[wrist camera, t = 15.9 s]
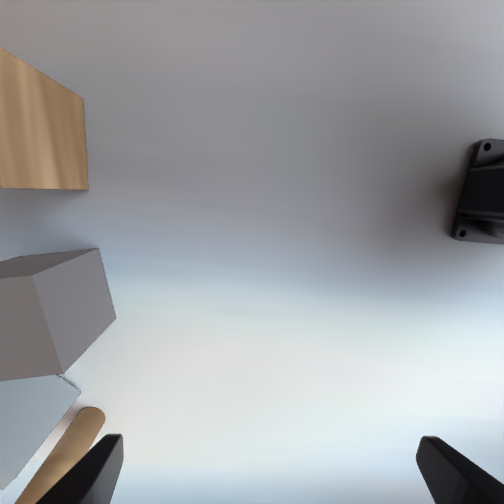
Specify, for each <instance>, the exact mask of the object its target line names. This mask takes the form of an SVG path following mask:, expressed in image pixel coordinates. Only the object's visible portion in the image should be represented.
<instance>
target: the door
mask: <svg viewBox="0 0 504 504" xmlns="http://www.w3.org/2000/svg"><path fill="white" fill-rule="evenodd" d="M80 394H81V391H79V390H78V389H76V388H75V387H73V386H72V385H70V384H69V383H67V382H66V381H64V380H63V379H61V378H60V377H58V376H57V375H49V376H41V377H33V378H25V379H17V380H9V381H1V382H0V489H2V490H4V489H5V488H6V487H7V486H8V485H9V484H10V483H11V482H12V481H13V480H14V479H15V478H16V477H17V476H18V474H19V473H20V472H21V471H22V469H23V468H24V467H25V465H26V464H27V463H28V461H29V460H30V459H31V457H32V456H33V455H34V454H35V452H36V451H37V450H38V448H39V447H40V446H41V444H42V443H43V442H44V441H45V439H46V438H47V437H48V435H49V434H50V433H51V431H52V430H53V429H54V427H55V426H56V425H57V424H58V422H59V421H60V420H61V418H62V417H63V416H64V414H65V413H66V412H67V411H68V409H69V408H70V407H71V405H72V404H73V403H74V401H75V400H76V399H77V397H78V396H79V395H80Z"/></svg>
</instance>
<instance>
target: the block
mask: <svg viewBox="0 0 504 504" xmlns="http://www.w3.org/2000/svg"><path fill="white" fill-rule="evenodd" d="M115 319H116V315H115V311H114V307H113V303H112V299H111V295H110V291H109V287H108V283H107V279H106V275H105V270H104V266H103V262H102V258H101V254H100V250H99V248H97V249H87V250H77V251H68V252H58V253H49V254H39V255H29V256H20V257H16V258H12V259H9V260H6V261H2V262H0V382H1V381H9V380H17V379H25V378H33V377H41V376H49V375H57V374H64V373H65V372H66V371H67V370H68V369H69V368H70V366H71V365H72V364H73V363H74V362H75V361H76V360H77V359H78V358H79V357H80V356H81V355H82V354H83V353H84V352H85V351H86V350H87V349H88V347H89V346H90V345H91V344H92V343H93V342H94V341H95V340H96V339H97V338H98V337H99V336H100V335H101V334H102V333H103V332H104V331H105V330H106V328H107V327H108V326H109V325H110V324H111V323H112V322H113V321H114V320H115Z"/></svg>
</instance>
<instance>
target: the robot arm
mask: <svg viewBox="0 0 504 504" xmlns="http://www.w3.org/2000/svg"><path fill="white" fill-rule="evenodd" d="M484 145H485V149H484ZM460 231H461V234H460V235H459V233H460ZM451 237H452V238H453V239H455V240H460V241H470V242H483V243H496V244H504V140H497V139H484V140H480V141H478V142H477V143H476V144H475V147H474V150H473V153H472V157H471V161H470V164H469V168H468V172H467V175H466V179H465V183H464V187H463V190H462V194H461V198H460V201H459V205H458V209H457V212H456V216H455V220H454V223H453V227H452V231H451ZM416 462H417V465H418V467H419V469H420V472H421V474H422V476H423V478H424V480H425V482H426V484H427V487H428V489H429V491H430V493H431V495H432V497H433V499H434V501H435V504H504V484H502V483H501V482H500V481H498V480H497V479H495V478H494V477H493V476H491V475H490V474H488V473H487V472H486V471H484V470H483V469H482V468H480V467H479V466H477V465H476V464H475V463H473V462H472V461H470V460H469V459H468V458H466V457H465V456H464V455H462V454H461V453H459V452H458V451H457V450H455V449H454V448H453V447H451V446H450V445H448V444H447V443H446V442H444V441H443V440H441V439H440V438H438V437H436V436H423V437H422V438H421V441H420V444H419V447H418V450H417V454H416ZM122 463H123V436H122V435H121V434H107V435H105V436H104V437H103V438H102V439H101V440H100V441H99V442H98V443H97V444H96V445H95V446H94V447H92V448H91V449H90V450H89V451H88V452H87V453H86V454H85V455H84V456H83V457H82V458H81V459H80V460H79V461H78V462H77V463H76V464H75V465H74V466H73V467H72V468H71V469H70V470H69V471H68V472H67V473H66V474H65V475H64V476H63V477H62V478H61V479H59V480H58V481H57V482H56V483H55V484H54V485H53V486H52V487H51V488H50V489H49V490H48V491H47V492H46V493H45V494H44V495H43V496H42V497H41V498H40V499H39V500H38V501H37V502H36V503H35V504H110V502H111V498H112V495H113V492H114V489H115V486H116V483H117V480H118V477H119V473H120V470H121V467H122Z"/></svg>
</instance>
